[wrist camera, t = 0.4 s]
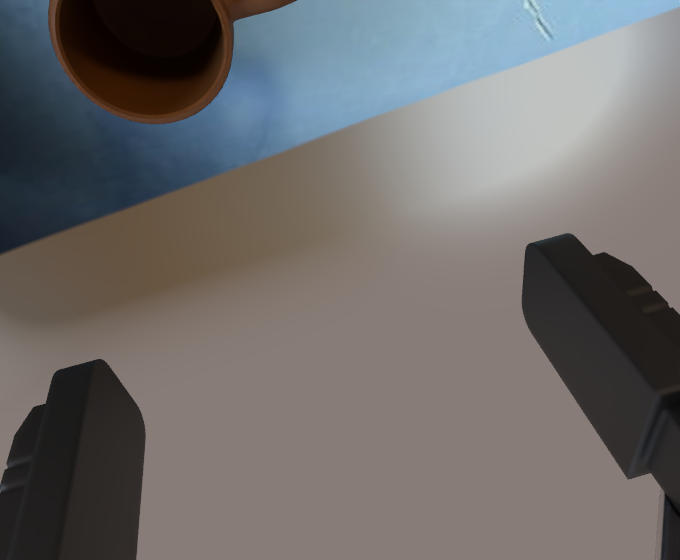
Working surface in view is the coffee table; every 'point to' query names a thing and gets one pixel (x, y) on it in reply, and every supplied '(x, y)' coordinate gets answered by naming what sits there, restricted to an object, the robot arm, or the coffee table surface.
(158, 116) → the mug
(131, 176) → the coffee table surface
